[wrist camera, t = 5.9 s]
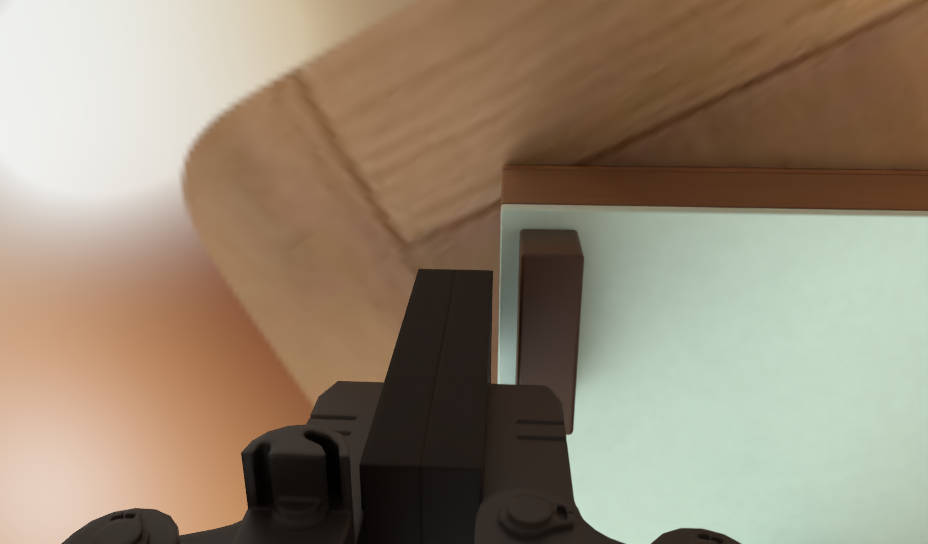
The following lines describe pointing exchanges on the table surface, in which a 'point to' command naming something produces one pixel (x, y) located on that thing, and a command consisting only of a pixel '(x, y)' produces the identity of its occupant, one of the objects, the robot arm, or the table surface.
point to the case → (715, 187)
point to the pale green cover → (728, 365)
